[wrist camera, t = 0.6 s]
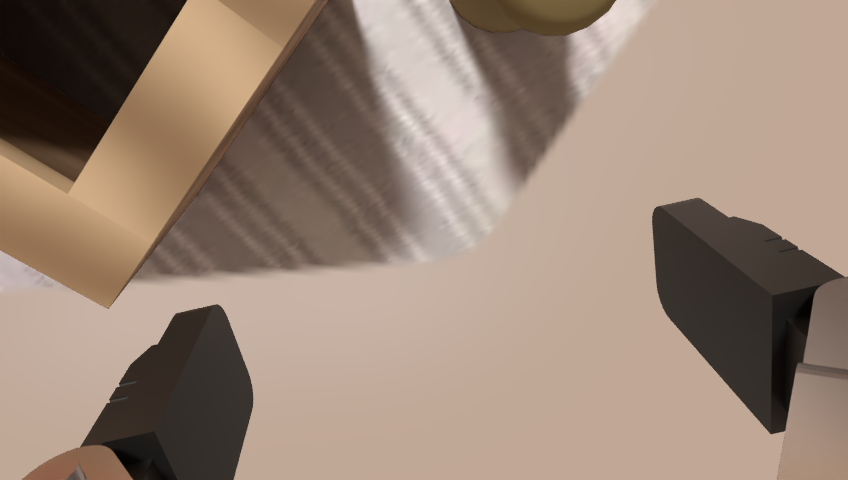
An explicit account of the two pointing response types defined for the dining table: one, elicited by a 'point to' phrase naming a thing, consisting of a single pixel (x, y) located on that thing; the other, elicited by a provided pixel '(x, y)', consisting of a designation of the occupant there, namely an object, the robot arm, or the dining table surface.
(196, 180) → the walnut box
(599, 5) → the olive pawn
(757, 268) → the robot arm
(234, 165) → the dining table surface
